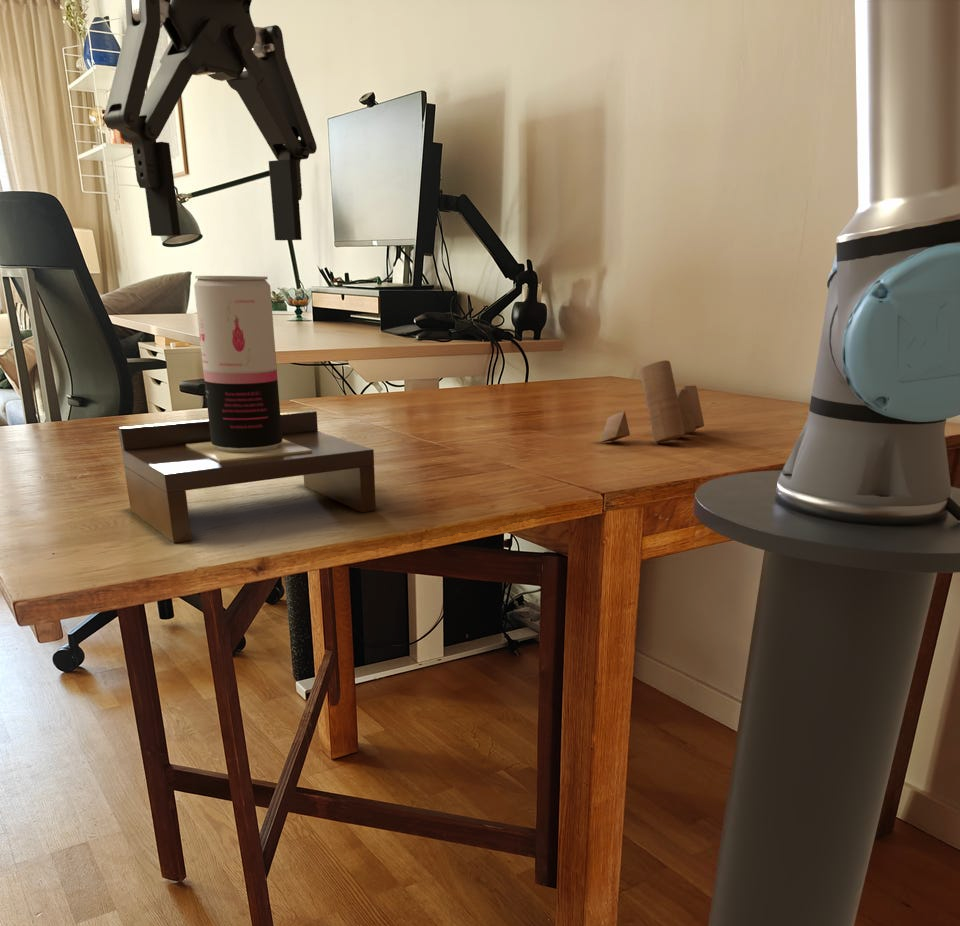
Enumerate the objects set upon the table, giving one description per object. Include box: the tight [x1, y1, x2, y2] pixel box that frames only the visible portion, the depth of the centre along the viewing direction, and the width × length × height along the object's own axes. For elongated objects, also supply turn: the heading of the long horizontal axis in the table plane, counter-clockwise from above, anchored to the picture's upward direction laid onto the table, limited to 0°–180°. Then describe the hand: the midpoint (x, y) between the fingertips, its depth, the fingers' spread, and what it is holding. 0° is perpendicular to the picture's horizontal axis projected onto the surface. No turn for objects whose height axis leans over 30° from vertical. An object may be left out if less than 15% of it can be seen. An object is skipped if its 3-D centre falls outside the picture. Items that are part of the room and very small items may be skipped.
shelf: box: [117, 409, 377, 544], centre depth 83 cm, size 13×20×8 cm, turn 126°
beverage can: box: [193, 275, 282, 453], centre depth 79 cm, size 7×7×15 cm
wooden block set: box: [599, 360, 705, 444], centre depth 121 cm, size 18×9×10 cm, turn 131°
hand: (231, 238), depth 75 cm, fingers open, 13 cm apart
